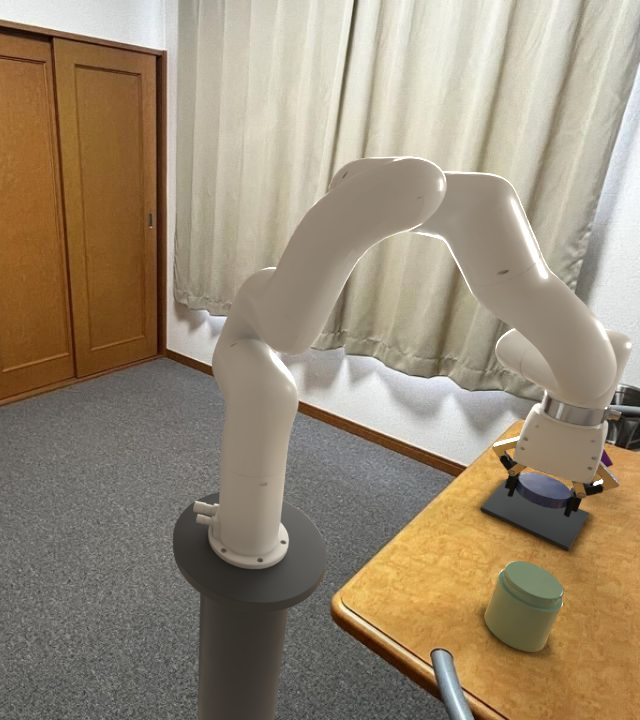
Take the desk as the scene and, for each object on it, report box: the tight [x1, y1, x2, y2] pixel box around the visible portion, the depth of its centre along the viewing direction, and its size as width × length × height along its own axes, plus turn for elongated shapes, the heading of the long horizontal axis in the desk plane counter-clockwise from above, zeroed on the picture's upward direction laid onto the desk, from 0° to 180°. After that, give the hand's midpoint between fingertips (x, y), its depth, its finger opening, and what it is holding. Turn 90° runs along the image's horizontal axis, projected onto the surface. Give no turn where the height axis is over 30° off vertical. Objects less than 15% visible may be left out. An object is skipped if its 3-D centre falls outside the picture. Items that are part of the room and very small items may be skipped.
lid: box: [515, 471, 571, 509], centre depth 78 cm, size 7×7×2 cm
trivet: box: [480, 478, 590, 551], centre depth 80 cm, size 12×12×1 cm
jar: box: [483, 560, 565, 653], centre depth 59 cm, size 6×6×9 cm
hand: (538, 501), depth 79 cm, fingers closed on lid, 6 cm apart
